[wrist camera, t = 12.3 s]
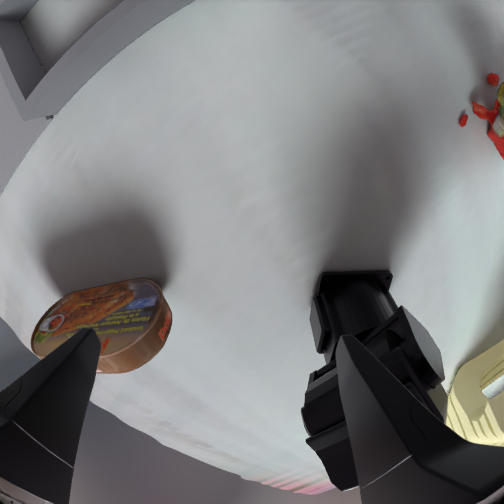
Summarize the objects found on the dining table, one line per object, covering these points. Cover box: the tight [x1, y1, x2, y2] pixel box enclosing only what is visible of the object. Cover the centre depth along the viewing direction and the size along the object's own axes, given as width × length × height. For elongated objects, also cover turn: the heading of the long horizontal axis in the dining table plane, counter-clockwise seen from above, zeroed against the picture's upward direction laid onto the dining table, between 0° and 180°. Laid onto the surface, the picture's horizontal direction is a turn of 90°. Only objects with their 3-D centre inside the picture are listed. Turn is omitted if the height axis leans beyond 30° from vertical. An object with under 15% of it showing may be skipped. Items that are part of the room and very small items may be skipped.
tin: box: [31, 278, 172, 373], centre depth 20 cm, size 15×3×8 cm, turn 104°
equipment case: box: [0, 0, 195, 195], centre depth 11 cm, size 13×26×4 cm, turn 121°
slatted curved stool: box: [446, 339, 504, 447], centre depth 25 cm, size 30×16×18 cm, turn 23°
